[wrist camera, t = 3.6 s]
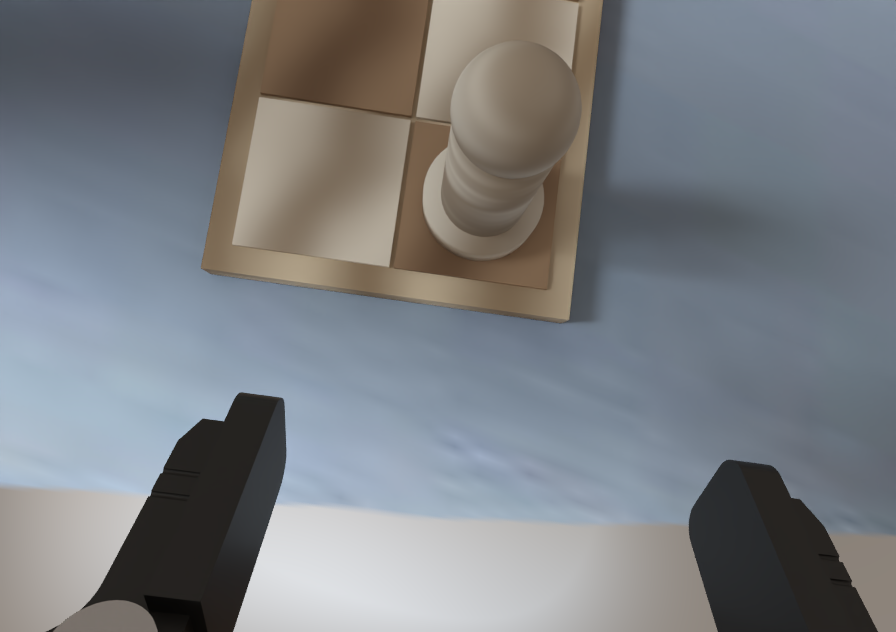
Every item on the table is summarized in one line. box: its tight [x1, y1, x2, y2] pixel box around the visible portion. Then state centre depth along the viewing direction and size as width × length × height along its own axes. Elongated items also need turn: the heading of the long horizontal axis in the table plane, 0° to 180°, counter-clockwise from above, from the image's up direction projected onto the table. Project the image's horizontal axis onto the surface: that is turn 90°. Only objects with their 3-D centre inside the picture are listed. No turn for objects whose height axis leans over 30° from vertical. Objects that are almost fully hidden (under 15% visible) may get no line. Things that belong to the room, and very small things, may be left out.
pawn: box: [422, 40, 582, 261], centre depth 20 cm, size 5×5×10 cm
